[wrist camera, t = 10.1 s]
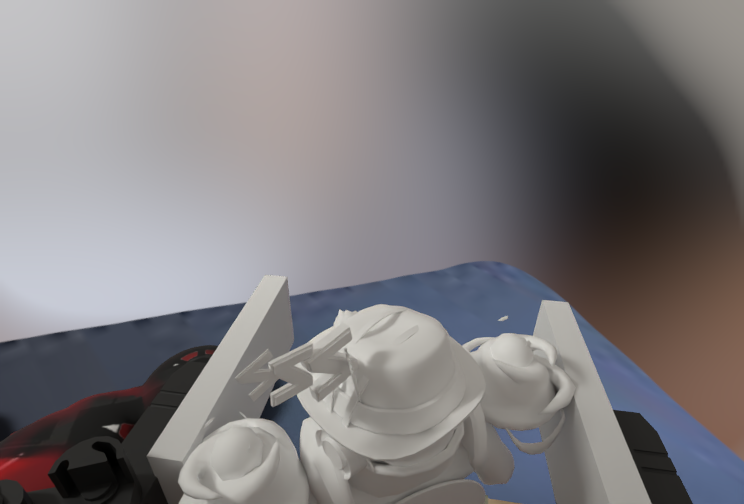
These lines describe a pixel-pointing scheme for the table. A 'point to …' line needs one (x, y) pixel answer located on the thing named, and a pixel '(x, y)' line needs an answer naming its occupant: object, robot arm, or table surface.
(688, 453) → the table surface
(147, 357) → the table surface
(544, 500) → the table surface
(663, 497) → the robot arm
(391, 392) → the hat wearing toy figure
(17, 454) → the toy motorcycle
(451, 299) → the table surface
